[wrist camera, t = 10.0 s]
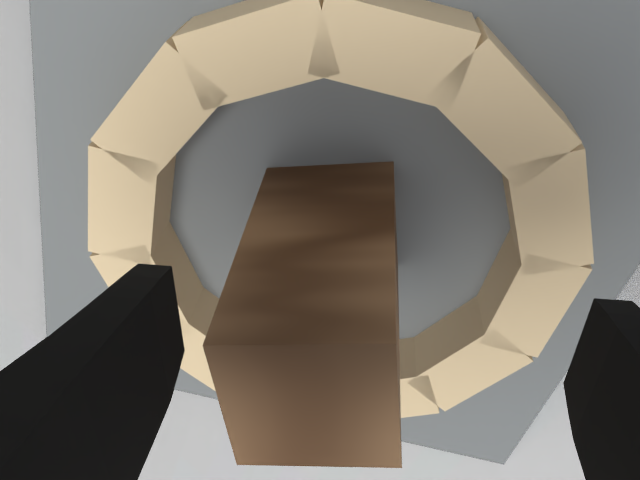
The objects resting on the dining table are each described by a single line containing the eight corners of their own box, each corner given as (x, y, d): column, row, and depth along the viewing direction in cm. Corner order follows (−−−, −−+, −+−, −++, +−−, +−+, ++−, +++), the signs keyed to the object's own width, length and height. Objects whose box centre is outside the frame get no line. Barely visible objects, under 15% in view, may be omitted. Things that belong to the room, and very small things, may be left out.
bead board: (812, -11, 15) (875, 14, 13) (502, 456, 27) (511, 506, 25) (26, -226, 14) (-33, -235, 12) (52, 354, 26) (24, 398, 24)
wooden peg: (393, 161, 19) (395, 343, 12) (397, 265, 21) (401, 467, 14) (266, 167, 19) (202, 345, 13) (284, 268, 21) (237, 464, 15)
